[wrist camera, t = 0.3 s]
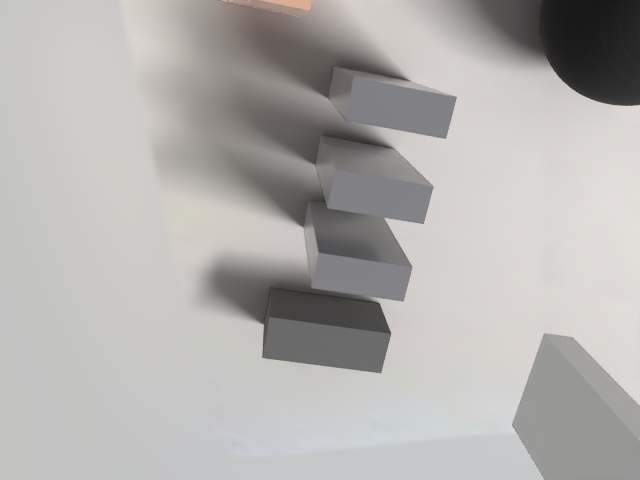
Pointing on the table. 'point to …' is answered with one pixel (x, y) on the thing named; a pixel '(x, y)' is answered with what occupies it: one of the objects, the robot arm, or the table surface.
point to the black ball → (595, 47)
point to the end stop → (325, 331)
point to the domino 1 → (278, 6)
